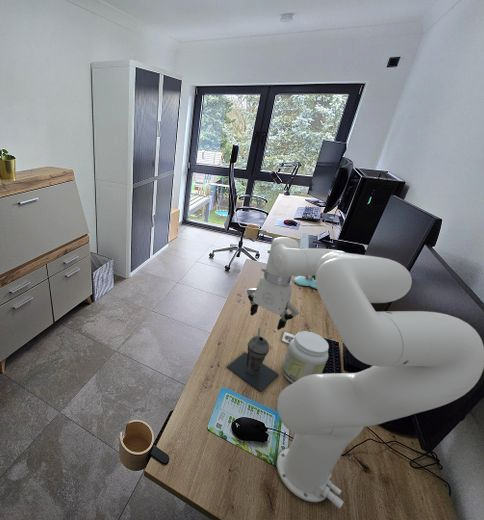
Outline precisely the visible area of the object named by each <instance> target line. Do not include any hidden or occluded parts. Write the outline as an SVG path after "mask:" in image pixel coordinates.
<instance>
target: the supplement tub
mask: <svg viewBox="0 0 484 520" xmlns="http://www.w3.org/2000/svg"><path fill="white" fill-rule="evenodd" d="M294 335H295V337H294V339H292V340H291V342H290V344H288V347H287V350H286V354H285V357H284V360H283V363H282V366H281V369H282V373H283V375H284V377H285V379H287V380H288V381H289V382H290V383H291V384H292V383H294V382H296V381H297V380H299V379H301V378H303V377H305V376H308V375H313V374H323V371H324V369H325V366H326V364H327V361H328V360H329V348H330V346H329V345H330V344H329V342H328V341H327V340H326V339H325V338H324V337H322V336H321V335H319V334H317V333H315V332H312V331H307V330H303V331H302V330H301V331H298V332H297V333H296V334H294Z"/></svg>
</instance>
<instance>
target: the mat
mask: <svg viewBox="0 0 484 520" xmlns="http://www.w3.org/2000/svg"><path fill="white" fill-rule="evenodd" d="M247 354H248V352H243V353H242V354H241V355H240V356H239V357H237V358H236V359H235V360H233V361H232V362H231V363H230V364H228V365H227V366H226V368H228V370H230V371H231V372H232V373H233V374H235V375H237V376H238V377H239V378H240V379H242V380H243V381H244V382H246V383H247V384H249V385H250V386H251V387H253V388H254V389H256V390H257V391H258V392H260V393H261V392H262V391H263V390H264V389H266V387H268V385H270V384H271V383H272V382H273V381H274V379H275V378H277V377H278V375H279V373H277V372H276V371H274V370H273V369H271V368H270V367H268V366H266V365H265V364H264V363H262V366H261V368H260V370H259V372H258V374H257V375H252V374H249V373H248V372H247V371H246V362H247Z"/></svg>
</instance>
